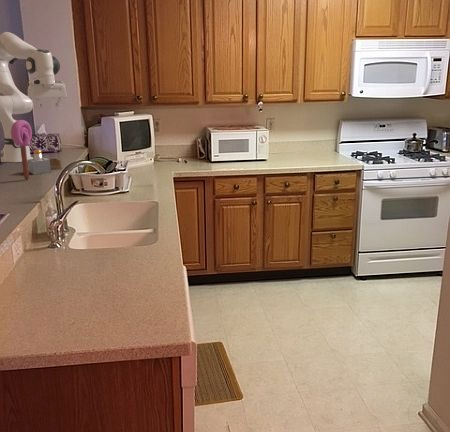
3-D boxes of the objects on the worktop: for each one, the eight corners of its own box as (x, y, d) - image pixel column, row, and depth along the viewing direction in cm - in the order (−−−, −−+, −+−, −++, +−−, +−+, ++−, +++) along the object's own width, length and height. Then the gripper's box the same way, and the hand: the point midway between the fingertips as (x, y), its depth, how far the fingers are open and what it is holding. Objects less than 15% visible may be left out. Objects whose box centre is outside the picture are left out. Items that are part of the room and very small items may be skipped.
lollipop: (25, 183, 243) (18, 121, 234) (12, 182, 244) (4, 121, 236) (40, 177, 255) (34, 118, 247) (28, 176, 257) (21, 118, 248)
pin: (35, 172, 269) (32, 150, 265) (42, 171, 271) (40, 149, 267) (37, 173, 266) (34, 151, 262) (44, 172, 268) (42, 150, 264)
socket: (29, 171, 269) (27, 159, 267) (46, 170, 274) (44, 157, 272) (33, 174, 262) (32, 161, 260) (51, 172, 267) (49, 159, 265)
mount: (45, 168, 279) (44, 159, 277) (57, 167, 283) (56, 158, 281) (48, 170, 273) (48, 161, 272) (61, 168, 277) (60, 160, 276)
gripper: (63, 80, 276) (65, 105, 280) (25, 81, 265) (28, 107, 269) (67, 80, 271) (69, 106, 275) (28, 81, 260) (31, 108, 264)
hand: (48, 106), depth 272 cm, fingers open, 8 cm apart
